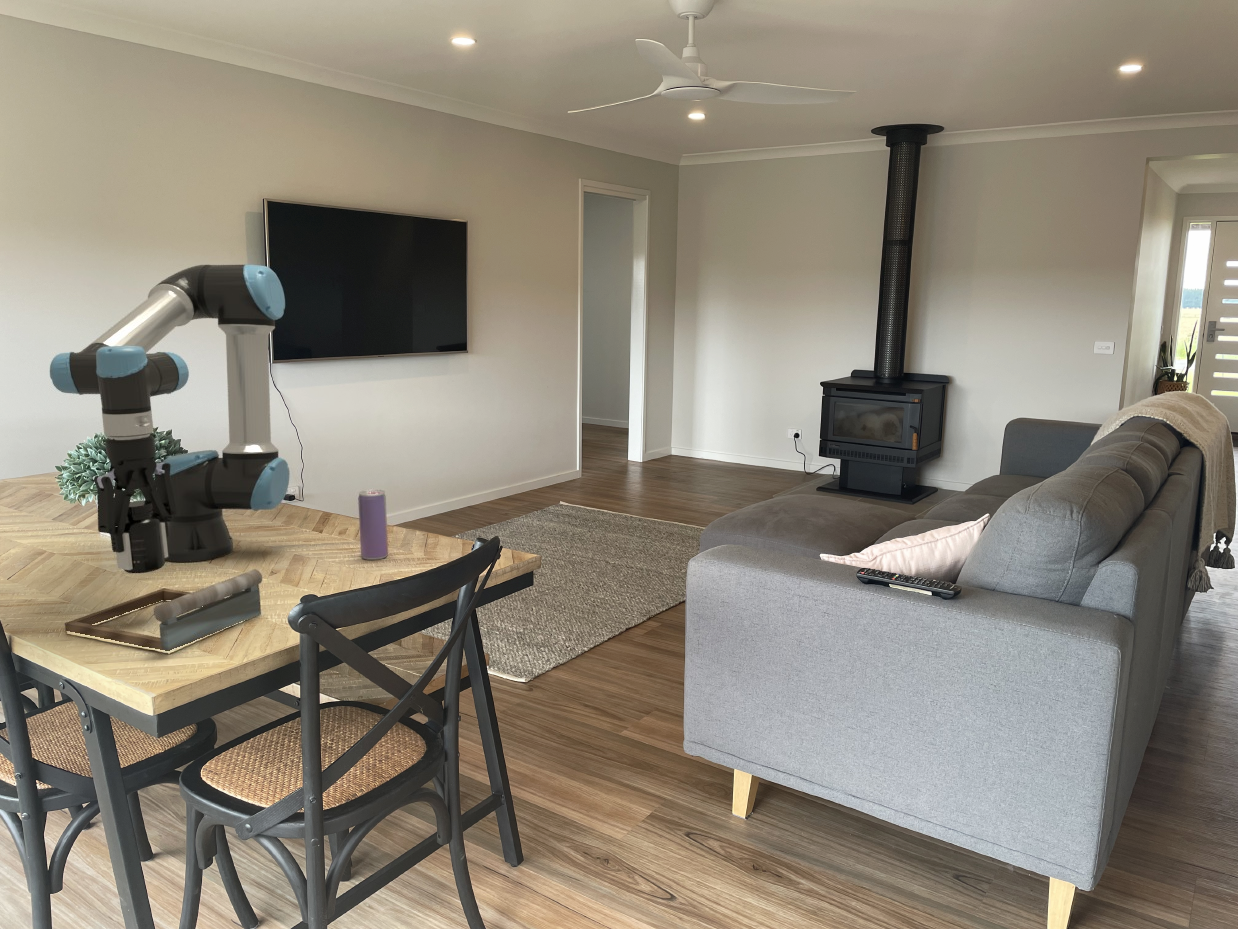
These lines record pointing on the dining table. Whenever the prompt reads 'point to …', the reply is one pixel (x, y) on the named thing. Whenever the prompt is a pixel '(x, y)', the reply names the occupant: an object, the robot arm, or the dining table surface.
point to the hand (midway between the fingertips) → (143, 562)
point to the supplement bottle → (144, 538)
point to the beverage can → (373, 524)
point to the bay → (120, 610)
